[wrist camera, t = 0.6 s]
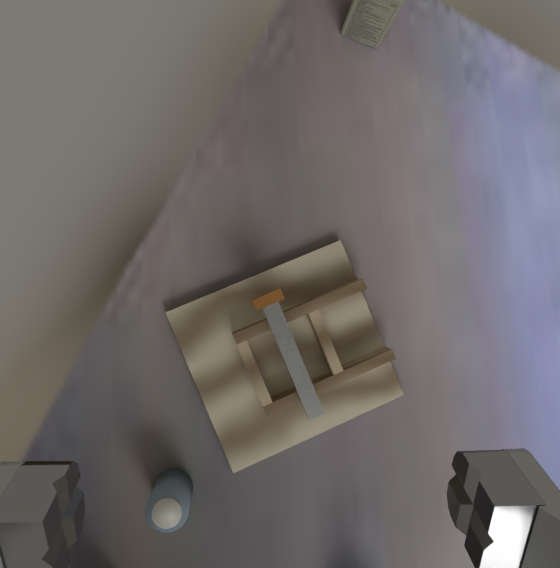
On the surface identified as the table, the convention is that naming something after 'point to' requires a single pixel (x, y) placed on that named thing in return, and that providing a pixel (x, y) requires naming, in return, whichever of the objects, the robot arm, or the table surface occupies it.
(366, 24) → the skincare box
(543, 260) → the table surface
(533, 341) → the table surface
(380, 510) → the table surface
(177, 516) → the blue-grey cylinder
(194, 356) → the dock
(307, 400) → the bar
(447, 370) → the table surface
